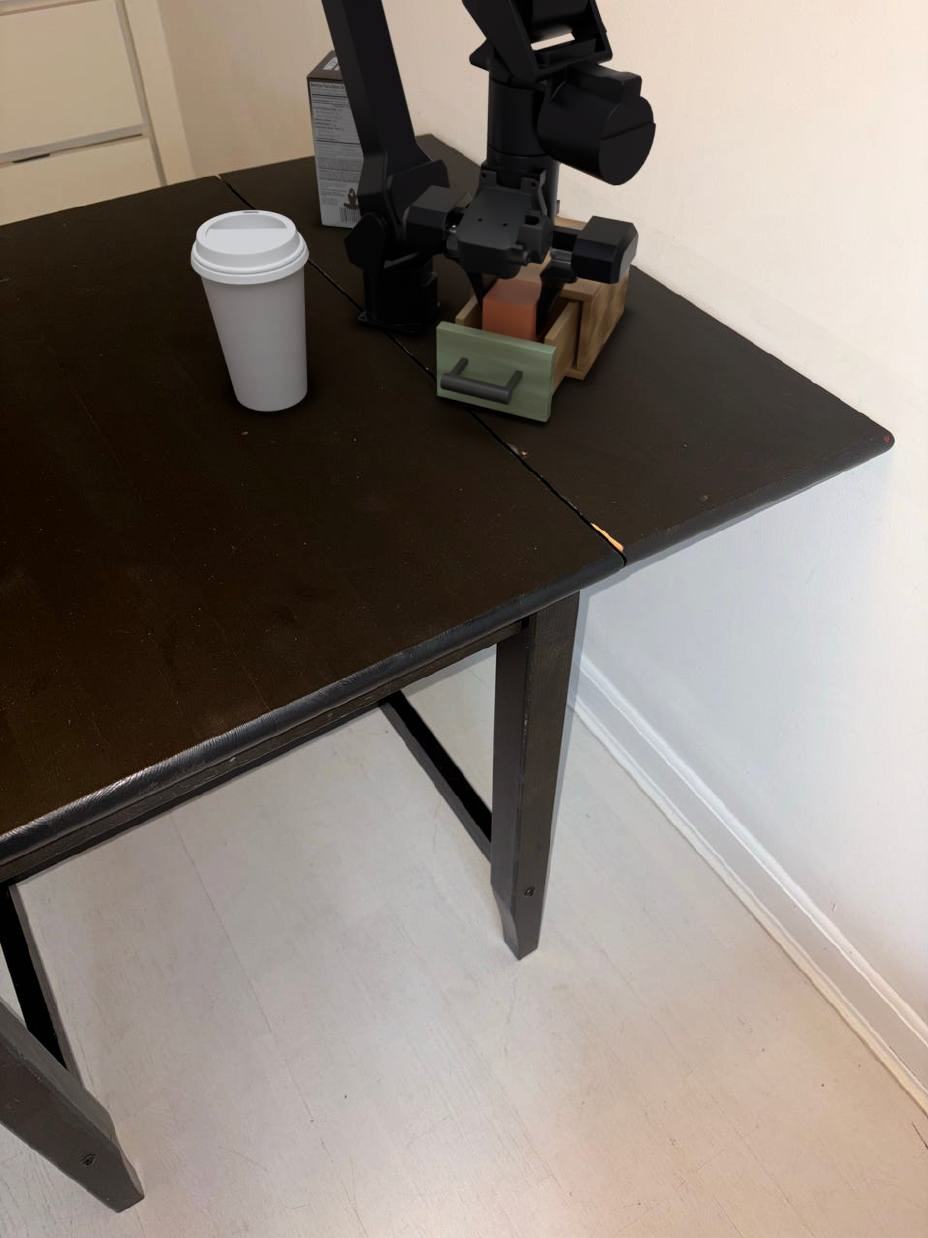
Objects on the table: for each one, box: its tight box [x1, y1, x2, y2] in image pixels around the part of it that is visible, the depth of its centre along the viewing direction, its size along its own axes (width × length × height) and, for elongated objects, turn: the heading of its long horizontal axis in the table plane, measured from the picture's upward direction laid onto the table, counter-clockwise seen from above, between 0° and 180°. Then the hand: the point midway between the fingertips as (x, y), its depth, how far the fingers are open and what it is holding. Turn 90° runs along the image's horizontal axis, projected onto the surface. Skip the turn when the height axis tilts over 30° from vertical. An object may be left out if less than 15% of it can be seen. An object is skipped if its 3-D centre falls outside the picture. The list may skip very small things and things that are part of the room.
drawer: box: [435, 295, 584, 423], centre depth 85 cm, size 17×10×7 cm, turn 157°
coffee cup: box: [190, 209, 310, 412], centre depth 82 cm, size 10×10×15 cm
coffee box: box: [305, 49, 364, 229], centre depth 108 cm, size 9×6×16 cm
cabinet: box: [469, 216, 631, 381], centre depth 92 cm, size 14×12×9 cm
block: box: [482, 278, 545, 342], centre depth 83 cm, size 4×4×4 cm
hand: (513, 327), depth 84 cm, fingers closed on block, 4 cm apart
